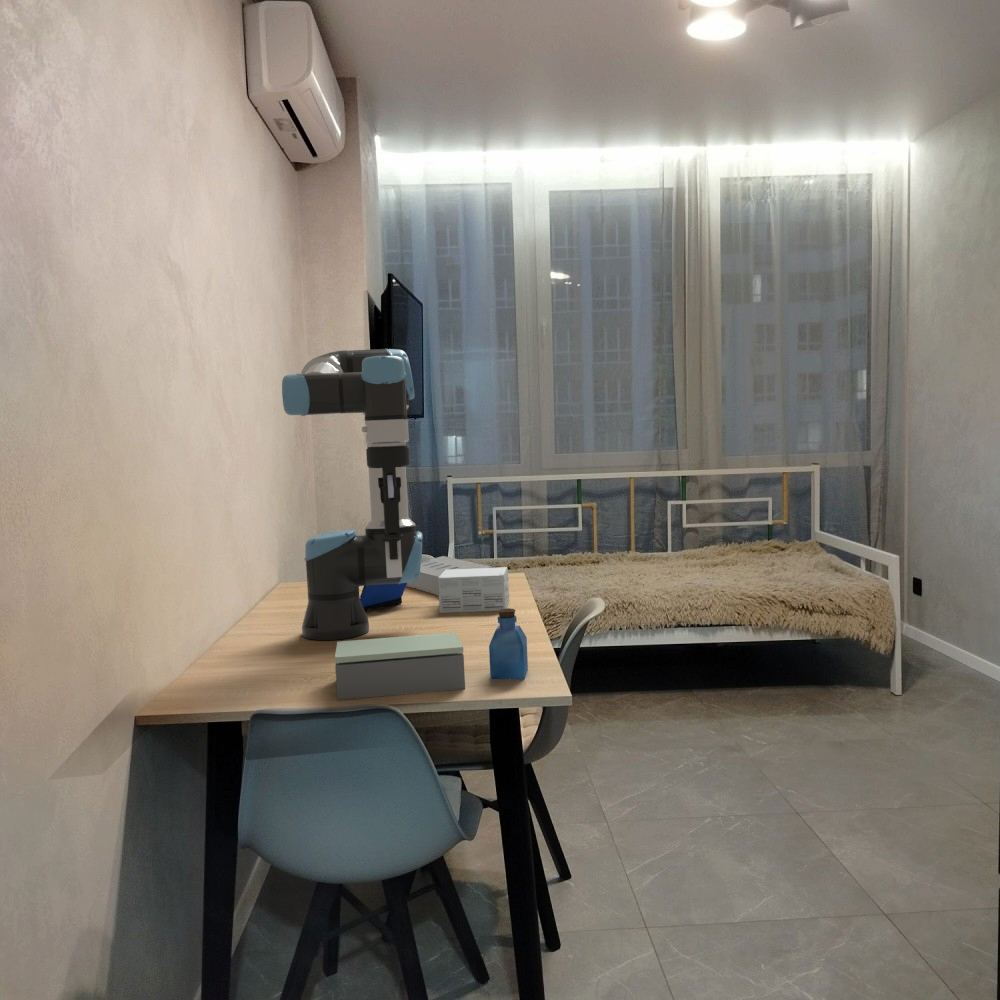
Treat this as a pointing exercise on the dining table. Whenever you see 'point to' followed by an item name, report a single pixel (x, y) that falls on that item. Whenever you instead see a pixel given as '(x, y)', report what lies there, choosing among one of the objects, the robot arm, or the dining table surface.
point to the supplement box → (473, 590)
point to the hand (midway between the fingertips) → (394, 576)
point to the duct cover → (397, 647)
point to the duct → (400, 676)
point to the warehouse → (439, 572)
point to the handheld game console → (381, 596)
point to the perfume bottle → (508, 648)
